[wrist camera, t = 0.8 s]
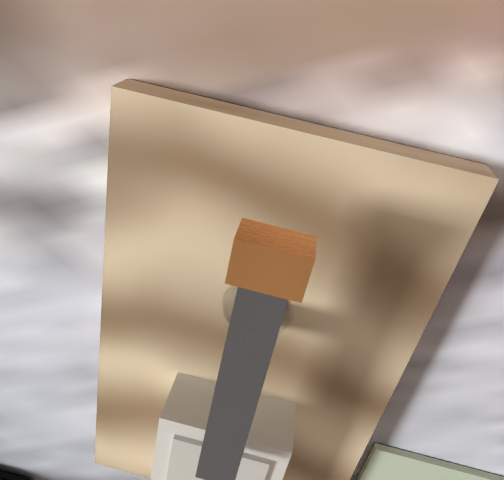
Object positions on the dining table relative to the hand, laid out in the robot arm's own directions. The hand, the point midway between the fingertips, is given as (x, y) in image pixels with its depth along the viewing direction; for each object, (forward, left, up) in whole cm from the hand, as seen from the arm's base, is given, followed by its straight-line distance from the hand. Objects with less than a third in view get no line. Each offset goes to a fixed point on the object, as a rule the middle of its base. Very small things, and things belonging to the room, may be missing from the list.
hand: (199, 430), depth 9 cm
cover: (-14, -1, -11) cm, 18 cm away
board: (-8, -1, -12) cm, 15 cm away
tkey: (-5, -1, -11) cm, 12 cm away
